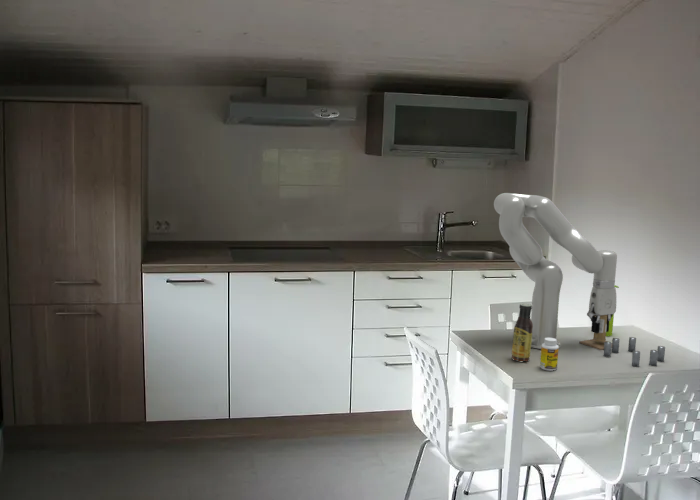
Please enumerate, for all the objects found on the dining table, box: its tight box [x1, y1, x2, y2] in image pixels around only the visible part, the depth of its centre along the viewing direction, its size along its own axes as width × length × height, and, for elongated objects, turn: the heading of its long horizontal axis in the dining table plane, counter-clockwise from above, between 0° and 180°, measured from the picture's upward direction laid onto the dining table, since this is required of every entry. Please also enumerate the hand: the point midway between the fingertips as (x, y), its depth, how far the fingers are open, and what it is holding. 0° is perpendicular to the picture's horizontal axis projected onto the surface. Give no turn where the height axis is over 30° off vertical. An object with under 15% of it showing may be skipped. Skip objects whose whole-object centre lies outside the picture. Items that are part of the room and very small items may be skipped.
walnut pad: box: [579, 338, 612, 351], centre depth 263 cm, size 10×10×1 cm
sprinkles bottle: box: [592, 313, 607, 341], centre depth 261 cm, size 5×5×14 cm
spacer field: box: [603, 336, 666, 368], centre depth 247 cm, size 15×18×5 cm
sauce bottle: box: [511, 302, 533, 362], centre depth 241 cm, size 7×6×20 cm
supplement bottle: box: [539, 338, 560, 372], centre depth 233 cm, size 6×6×10 cm
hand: (599, 331), depth 262 cm, fingers closed on sprinkles bottle, 4 cm apart
